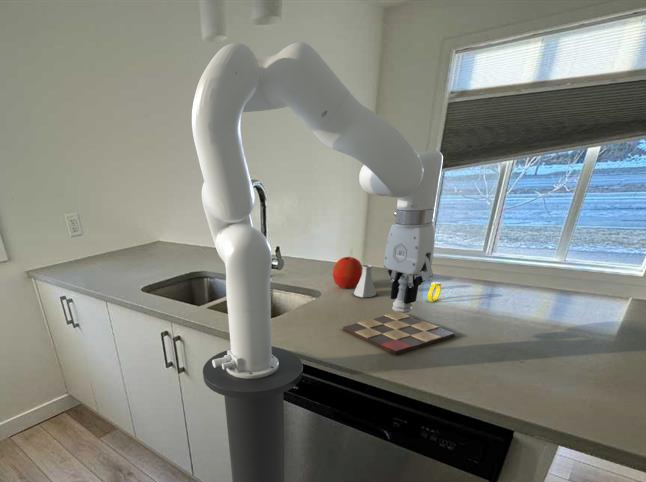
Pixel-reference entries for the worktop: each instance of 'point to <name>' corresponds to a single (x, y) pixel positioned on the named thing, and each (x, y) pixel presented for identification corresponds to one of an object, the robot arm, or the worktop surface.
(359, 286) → the flask
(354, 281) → the apple
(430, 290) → the yellow ring
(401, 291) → the rook chess piece
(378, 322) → the board
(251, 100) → the robot arm
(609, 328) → the worktop surface
